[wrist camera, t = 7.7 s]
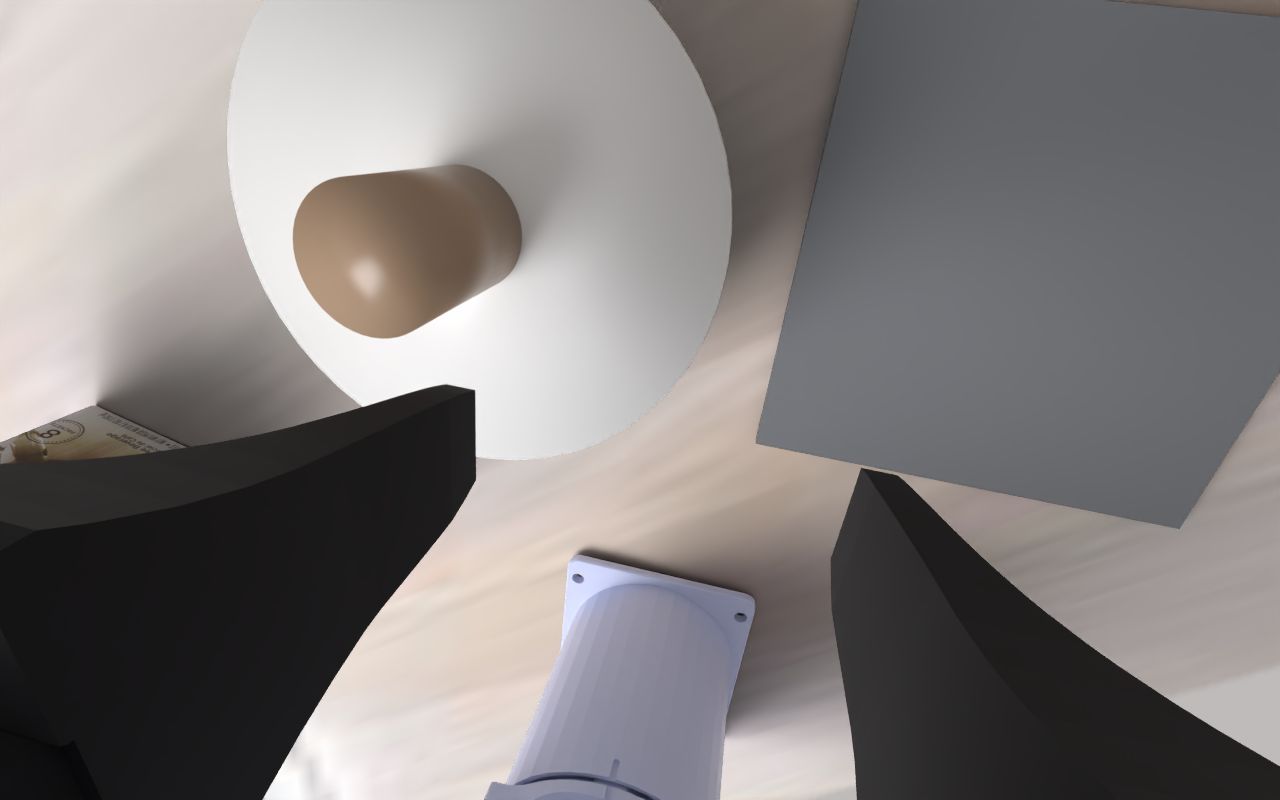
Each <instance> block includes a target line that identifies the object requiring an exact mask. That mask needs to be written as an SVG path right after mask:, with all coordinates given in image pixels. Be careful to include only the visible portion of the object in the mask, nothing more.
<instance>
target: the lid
mask: <svg viewBox="0 0 1280 800" xmlns="http://www.w3.org/2000/svg"><path fill="white" fill-rule="evenodd" d="M227 158H228V167H229V175H230V184H231V192H232V196H233V201H234V205H235V210H236V214H237V219H238V223H239V227H240V230H241V233H242V236H243V239H244V242H245V245H246V248H247V251H248V254H249V257H250V259H251V262H252V264H253V266H254V268H255V271H256V273H257V275H258V277H259V280H260V282H261V284H262V286H263V288H264V290H265V292H266V294H267V295H268V297H269V299H270V301H271V303H272V304H273V306H274V308H275V310H276V311H277V313H278V315H279V317H280V318H281V320H282V321H283V322H284V324H285V325H286V327H287V328H288V330H289V331H290V333H291V334H292V335H293V337H294V338H295V340H296V341H297V343H298V344H299V345H300V346H301V347H302V349H303V350H304V351H305V352H306V353H307V355H308V356H309V357H310V358H311V359H312V361H313V362H314V363H315V364H316V365H317V366H318V368H319V369H321V370H322V371H323V372H324V373H325V374H326V375H327V376H328V377H329V378H330V379H331V380H332V381H333V382H334V383H335V384H336V385H337V386H338V387H339V388H340V389H341V390H342V391H344V392H345V393H346V394H347V395H348V396H350V397H351V398H352V399H353V400H355V401H356V402H357V403H358V404H360V405H361V406H362V407H364V406H368V405H371V404H374V403H377V402H381V401H384V400H387V399H390V398H394V397H397V396H400V395H404V394H407V393H410V392H414V391H417V390H421V389H425V388H429V387H433V386H438V385H444V384H448V385H453V386H458V387H463V388H467V389H472V390H475V405H476V457H482V458H489V459H499V460H530V459H541V458H550V457H555V456H559V455H564V454H568V453H573V452H576V451H579V450H582V449H584V448H587V447H590V446H592V445H595V444H598V443H601V442H602V441H604V440H606V439H608V438H610V437H612V436H614V435H616V434H617V433H619V432H621V431H623V430H625V429H626V428H628V427H629V426H630V425H632V424H633V423H635V422H636V421H637V420H639V419H640V418H641V417H643V416H644V415H646V414H647V413H648V412H649V411H650V410H651V409H652V408H653V407H654V406H656V405H657V404H658V403H659V402H660V401H661V400H662V399H663V398H664V397H665V396H666V395H667V394H668V393H669V392H670V391H671V389H672V388H673V387H674V385H675V384H676V383H677V382H678V380H679V379H680V378H681V376H682V375H683V374H684V372H685V371H686V370H687V369H688V367H689V366H690V364H691V362H692V360H693V359H694V357H695V355H696V353H697V352H698V350H699V348H700V346H701V344H702V343H703V341H704V339H705V337H706V334H707V332H708V329H709V327H710V324H711V322H712V319H713V317H714V314H715V312H716V309H717V307H718V303H719V300H720V296H721V292H722V288H723V284H724V281H725V277H726V273H727V269H728V263H729V255H730V246H731V237H732V190H731V182H730V175H729V168H728V161H727V154H726V150H725V146H724V143H723V139H722V135H721V132H720V128H719V124H718V121H717V117H716V114H715V111H714V109H713V106H712V104H711V102H710V99H709V97H708V94H707V92H706V89H705V87H704V85H703V82H702V80H701V77H700V75H699V73H698V72H697V70H696V68H695V66H694V65H693V63H692V61H691V59H690V58H689V56H688V54H687V52H686V51H685V49H684V47H683V45H682V44H681V42H680V40H679V39H678V37H677V36H676V35H675V33H674V32H673V31H672V29H671V28H670V27H669V26H668V24H667V23H666V22H665V20H664V19H663V18H662V16H661V15H660V14H659V12H658V11H657V10H656V8H655V7H654V6H653V5H652V4H651V3H650V2H649V1H648V0H263V2H262V3H261V5H260V7H259V9H258V10H257V12H256V14H255V16H254V17H253V19H252V22H251V24H250V27H249V29H248V32H247V34H246V37H245V40H244V42H243V45H242V47H241V50H240V52H239V56H238V60H237V65H236V69H235V73H234V77H233V81H232V85H231V92H230V101H229V110H228V119H227Z"/></svg>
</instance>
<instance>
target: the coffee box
mask: <svg viewBox="0 0 1280 800" xmlns="http://www.w3.org/2000/svg"><path fill="white" fill-rule="evenodd" d="M179 448H187V447H186V446H183V445H181V444H179V443H177V442H174V441H172V440H170V439H168V438H166V437H163V436H161V435H159V434H157V433H155V432H152V431H150V430H148V429H146V428H144V427H141V426H139V425H137V424H135V423H133V422H131V421H128V420H126V419H124V418H122V417H120V416H118V415H115V414H113V413H111V412H109V411H107V410H104V409H102V408H100V407H98V406H90V407H87V408H85V409H82V410H80V411H78V412H75V413H72V414H70V415H67V416H65V417H63V418H60V419H58V420H55V421H53V422H50V423H48V424H45V425H42V426H40V427H37V428H35V429H33V430H31V431H28V432H25V433H22V434H20V435H18V436H16V437H13V438H10V439H8V440H6V441H3V442H0V464H20V463H39V462H55V461H69V460H83V459H95V458H106V457H116V456H127V455H136V454H143V453H150V452H158V451H165V450H172V449H179Z"/></svg>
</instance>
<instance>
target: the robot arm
mask: <svg viewBox="0 0 1280 800" xmlns="http://www.w3.org/2000/svg"><path fill="white" fill-rule="evenodd" d="M475 481H476V405H475V390H472V389H467V388H463V387H458V386H453V385H448V384H444V385H438V386H433V387H429V388H425V389H421V390H417V391H414V392H410V393H407V394H404V395H400V396H397V397H394V398H390V399H387V400H384V401H381V402H377V403H374V404H371V405H368V406H364V407H361V408H358V409H355V410H351V411H348V412H345V413H341V414H337V415H334V416H330V417H326V418H323V419H319V420H315V421H312V422H308V423H305V424H301V425H297V426H294V427H290V428H286V429H282V430H277V431H273V432H269V433H264V434H260V435H255V436H250V437H245V438H240V439H235V440H230V441H225V442H219V443H213V444H208V445H201V446H194V447H187V448H179V449H172V450H165V451H158V452H150V453H143V454H136V455H127V456H116V457H106V458H95V459H83V460H69V461H55V462H39V463H20V464H0V800H262V799H263V797H264V796H265V794H266V792H267V790H268V789H269V787H270V785H271V783H272V782H273V780H274V778H275V777H276V775H277V773H278V771H279V770H280V768H281V766H282V764H283V763H284V761H285V759H286V757H287V756H288V754H289V752H290V750H291V749H292V747H293V745H294V743H295V742H296V740H297V738H298V736H299V735H300V733H301V731H302V730H303V728H304V726H305V725H306V723H307V721H308V720H309V718H310V717H311V715H312V713H313V712H314V710H315V708H316V707H317V705H318V703H319V702H320V700H321V699H322V697H323V695H324V694H325V692H326V690H327V689H328V687H329V686H330V684H331V682H332V681H333V679H334V677H335V676H336V674H337V673H338V671H339V670H340V668H341V667H342V665H343V664H344V662H345V661H346V659H347V657H348V656H349V654H350V653H351V651H352V650H353V648H354V647H355V645H356V644H357V642H358V641H359V639H360V637H361V636H362V634H363V633H364V631H365V630H366V629H367V627H368V626H369V625H370V623H371V622H372V620H373V619H374V618H375V616H376V615H377V614H378V612H379V611H380V610H381V608H382V607H383V606H384V605H385V603H386V602H387V601H388V600H389V599H390V597H391V596H392V595H393V594H394V592H395V591H396V590H397V589H398V587H399V586H400V585H401V584H402V583H403V581H404V580H405V579H406V578H407V576H408V575H409V574H410V573H411V571H412V570H413V569H414V568H415V567H416V565H417V564H418V563H419V562H420V560H421V559H422V558H423V557H424V555H425V554H426V553H427V552H428V551H429V549H430V548H431V547H432V545H433V544H434V543H435V542H436V540H437V539H438V538H439V537H440V535H441V534H442V533H443V532H444V530H445V529H446V528H447V527H448V525H449V524H450V523H451V521H452V520H453V518H454V517H455V515H456V513H457V512H458V510H459V508H460V507H461V505H462V504H463V502H464V500H465V498H466V497H467V495H468V493H469V491H470V489H471V488H472V486H473V484H474V482H475ZM576 574H580V575H582V576H583V577H579V576H577V575H576ZM831 599H832V614H833V621H834V627H835V634H836V640H837V647H838V653H839V659H840V665H841V671H842V677H843V683H844V690H845V696H846V702H847V708H848V714H849V720H850V726H851V733H852V742H853V750H854V759H855V774H856V791H857V800H1280V766H1278V765H1276V764H1275V763H1273V762H1271V761H1270V760H1268V759H1266V758H1264V757H1262V756H1261V755H1259V754H1258V753H1256V752H1254V751H1253V750H1250V749H1249V748H1247V747H1246V746H1244V745H1242V744H1241V743H1239V742H1237V741H1235V740H1233V739H1232V738H1230V737H1228V736H1227V735H1225V734H1223V733H1222V732H1220V731H1218V730H1217V729H1215V728H1213V727H1212V726H1210V725H1208V724H1207V723H1205V722H1204V721H1202V720H1200V719H1199V718H1197V717H1196V716H1194V715H1192V714H1191V713H1189V712H1188V711H1186V710H1184V709H1183V708H1181V707H1179V706H1178V705H1176V704H1175V703H1173V702H1172V701H1170V700H1169V699H1167V698H1166V697H1164V696H1163V695H1161V694H1160V693H1158V692H1157V691H1155V690H1154V689H1152V688H1151V687H1149V686H1148V685H1146V684H1145V683H1143V682H1141V681H1140V680H1138V679H1137V678H1135V677H1134V676H1132V675H1131V674H1129V673H1128V672H1126V671H1125V670H1123V669H1122V668H1120V667H1119V666H1117V665H1116V664H1115V663H1113V662H1112V661H1110V660H1109V659H1108V658H1106V657H1105V656H1103V655H1102V654H1100V653H1099V652H1098V651H1096V650H1095V649H1093V648H1092V647H1091V646H1089V645H1088V644H1087V643H1085V642H1084V641H1083V640H1081V639H1080V638H1079V637H1077V636H1076V635H1075V634H1073V633H1072V632H1071V631H1070V630H1068V629H1067V628H1066V627H1064V626H1063V625H1062V624H1060V623H1059V622H1058V621H1056V620H1055V619H1054V618H1053V617H1051V616H1050V615H1049V614H1047V613H1046V612H1045V611H1043V610H1042V609H1041V608H1040V607H1039V606H1037V605H1036V604H1035V603H1034V602H1032V601H1031V600H1030V599H1029V598H1028V597H1026V596H1025V595H1024V594H1023V593H1022V592H1021V591H1019V590H1018V589H1017V588H1016V587H1015V586H1014V585H1013V584H1011V583H1010V582H1009V581H1008V580H1007V579H1006V578H1005V577H1003V576H1002V575H1001V574H1000V573H999V572H998V571H997V570H995V569H994V568H993V567H992V566H991V565H990V564H989V563H988V562H987V561H986V560H985V559H983V558H982V557H981V556H980V555H979V554H978V553H977V552H976V551H975V550H974V549H973V548H972V547H971V546H970V545H969V544H968V543H967V542H965V541H964V540H963V539H962V538H961V537H960V536H959V535H958V534H957V533H956V532H955V531H954V530H953V529H952V528H951V527H950V526H949V525H948V524H947V523H946V522H945V521H944V520H943V519H942V518H941V517H940V516H939V515H938V514H937V513H936V512H935V511H934V510H933V509H932V508H931V507H930V506H929V505H928V504H927V503H926V502H925V501H924V500H923V499H922V498H921V497H920V496H919V495H918V494H917V493H916V492H915V491H914V490H913V489H912V488H911V487H910V486H909V485H908V484H907V483H906V482H905V481H903V480H902V479H901V478H900V477H899V476H897V475H893V474H888V473H883V472H878V471H873V470H868V469H863V468H861V470H860V473H859V476H858V479H857V482H856V485H855V488H854V491H853V494H852V497H851V500H850V503H849V506H848V509H847V512H846V515H845V518H844V521H843V524H842V527H841V530H840V533H839V536H838V539H837V542H836V545H835V548H834V551H833V554H832V557H831ZM737 613H743V614H745V615H743V616H740V615H738V614H737ZM754 613H755V600H754V598H753V597H751V596H750V595H748V594H745V593H741V592H737V591H733V590H728V589H724V588H720V587H715V586H711V585H707V584H703V583H698V582H694V581H690V580H686V579H681V578H677V577H673V576H669V575H664V574H660V573H656V572H652V571H647V570H643V569H639V568H634V567H630V566H626V565H622V564H617V563H613V562H609V561H605V560H600V559H596V558H592V557H588V556H583V555H576V556H573V557H572V558H571V560H570V562H569V565H568V572H567V583H566V595H565V607H564V618H563V630H562V642H561V650H560V652H559V655H558V657H557V660H556V662H555V665H554V667H553V670H552V672H551V674H550V677H549V679H548V682H547V684H546V687H545V689H544V692H543V694H542V697H541V699H540V701H539V704H538V706H537V709H536V711H535V714H534V716H533V719H532V721H531V724H530V726H529V728H528V731H527V733H526V736H525V738H524V741H523V743H522V746H521V748H520V751H519V753H518V755H517V758H516V760H515V763H514V765H513V768H512V770H511V773H510V775H509V778H508V780H507V782H506V784H502V783H498V782H492V783H491V785H490V787H489V789H488V791H487V794H486V796H485V798H484V800H720V789H721V777H722V764H723V751H724V739H725V726H726V716H727V712H728V708H729V705H730V701H731V697H732V694H733V690H734V686H735V683H736V679H737V675H738V672H739V668H740V664H741V661H742V657H743V653H744V650H745V646H746V642H747V639H748V635H749V631H750V628H751V624H752V620H753V617H754Z"/></svg>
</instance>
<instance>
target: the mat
mask: <svg viewBox="0 0 1280 800" xmlns="http://www.w3.org/2000/svg"><path fill="white" fill-rule="evenodd" d="M1279 372H1280V17H1272V16H1262V15H1251V14H1241V13H1231V12H1221V11H1210V10H1200V9H1190V8H1180V7H1169V6H1159V5H1149V4H1139V3H1128V2H1118V1H1108V0H859V1H858V5H857V9H856V13H855V18H854V22H853V26H852V30H851V35H850V39H849V43H848V48H847V52H846V56H845V60H844V65H843V69H842V73H841V77H840V82H839V86H838V90H837V95H836V99H835V103H834V107H833V112H832V116H831V120H830V124H829V129H828V133H827V137H826V142H825V146H824V150H823V154H822V159H821V163H820V167H819V171H818V176H817V180H816V184H815V189H814V193H813V197H812V201H811V206H810V210H809V214H808V218H807V223H806V227H805V231H804V236H803V240H802V244H801V248H800V253H799V257H798V261H797V265H796V270H795V274H794V278H793V283H792V287H791V291H790V295H789V300H788V304H787V308H786V312H785V317H784V321H783V325H782V330H781V334H780V338H779V342H778V347H777V351H776V355H775V359H774V364H773V368H772V372H771V377H770V381H769V385H768V389H767V394H766V398H765V402H764V406H763V411H762V415H761V419H760V424H759V428H758V432H757V436H756V444H761V445H765V446H770V447H775V448H780V449H785V450H790V451H795V452H800V453H805V454H810V455H815V456H820V457H825V458H830V459H835V460H840V461H845V462H850V463H855V464H860V465H865V466H870V467H875V468H880V469H885V470H890V471H895V472H900V473H904V474H909V475H914V476H919V477H924V478H929V479H934V480H939V481H944V482H949V483H954V484H959V485H964V486H969V487H974V488H979V489H984V490H989V491H994V492H999V493H1004V494H1009V495H1014V496H1019V497H1024V498H1029V499H1034V500H1039V501H1044V502H1048V503H1053V504H1058V505H1063V506H1068V507H1073V508H1078V509H1083V510H1088V511H1093V512H1098V513H1103V514H1108V515H1113V516H1118V517H1123V518H1128V519H1133V520H1138V521H1143V522H1148V523H1153V524H1158V525H1163V526H1168V527H1173V528H1178V529H1180V527H1181V526H1182V524H1183V522H1184V521H1185V519H1186V518H1187V516H1188V515H1189V513H1190V511H1191V510H1192V508H1193V507H1194V505H1195V504H1196V502H1197V500H1198V499H1199V497H1200V496H1201V494H1202V493H1203V491H1204V489H1205V488H1206V486H1207V485H1208V483H1209V482H1210V480H1211V478H1212V477H1213V475H1214V474H1215V472H1216V471H1217V469H1218V467H1219V466H1220V464H1221V463H1222V461H1223V460H1224V458H1225V456H1226V455H1227V453H1228V452H1229V450H1230V449H1231V447H1232V445H1233V444H1234V442H1235V441H1236V439H1237V438H1238V436H1239V434H1240V433H1241V431H1242V430H1243V428H1244V427H1245V425H1246V423H1247V422H1248V420H1249V419H1250V417H1251V416H1252V414H1253V412H1254V411H1255V409H1256V408H1257V406H1258V405H1259V403H1260V401H1261V400H1262V398H1263V397H1264V395H1265V394H1266V392H1267V390H1268V389H1269V387H1270V386H1271V384H1272V383H1273V381H1274V379H1275V378H1276V376H1277V375H1278V373H1279Z"/></svg>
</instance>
